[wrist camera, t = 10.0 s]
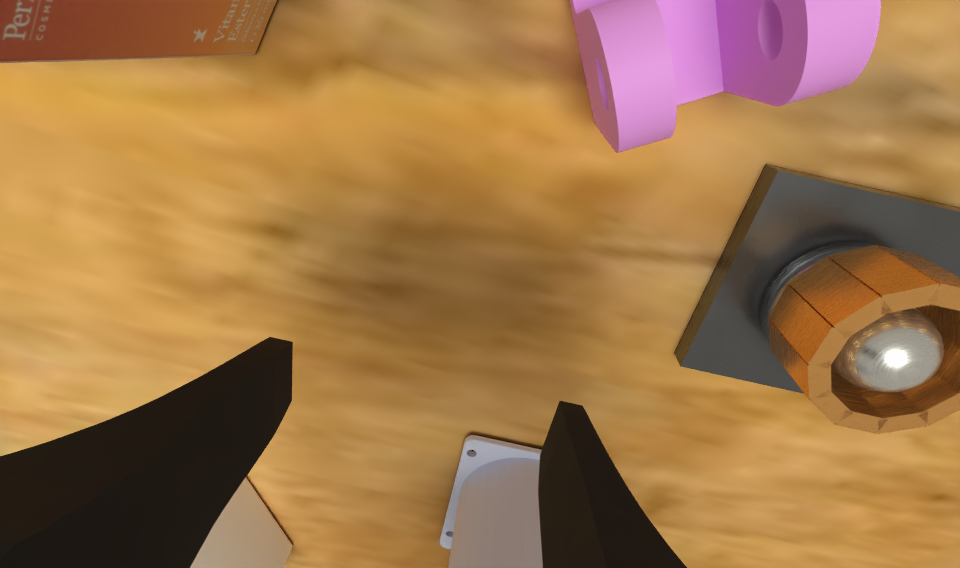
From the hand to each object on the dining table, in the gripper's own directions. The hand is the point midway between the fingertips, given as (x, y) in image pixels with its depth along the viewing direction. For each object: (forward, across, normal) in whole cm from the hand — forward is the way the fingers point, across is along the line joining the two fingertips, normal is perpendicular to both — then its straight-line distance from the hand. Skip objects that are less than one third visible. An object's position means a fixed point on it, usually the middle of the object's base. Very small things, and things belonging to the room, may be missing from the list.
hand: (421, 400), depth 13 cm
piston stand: (+9, -15, -2) cm, 18 cm away
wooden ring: (+7, -15, -2) cm, 17 cm away
